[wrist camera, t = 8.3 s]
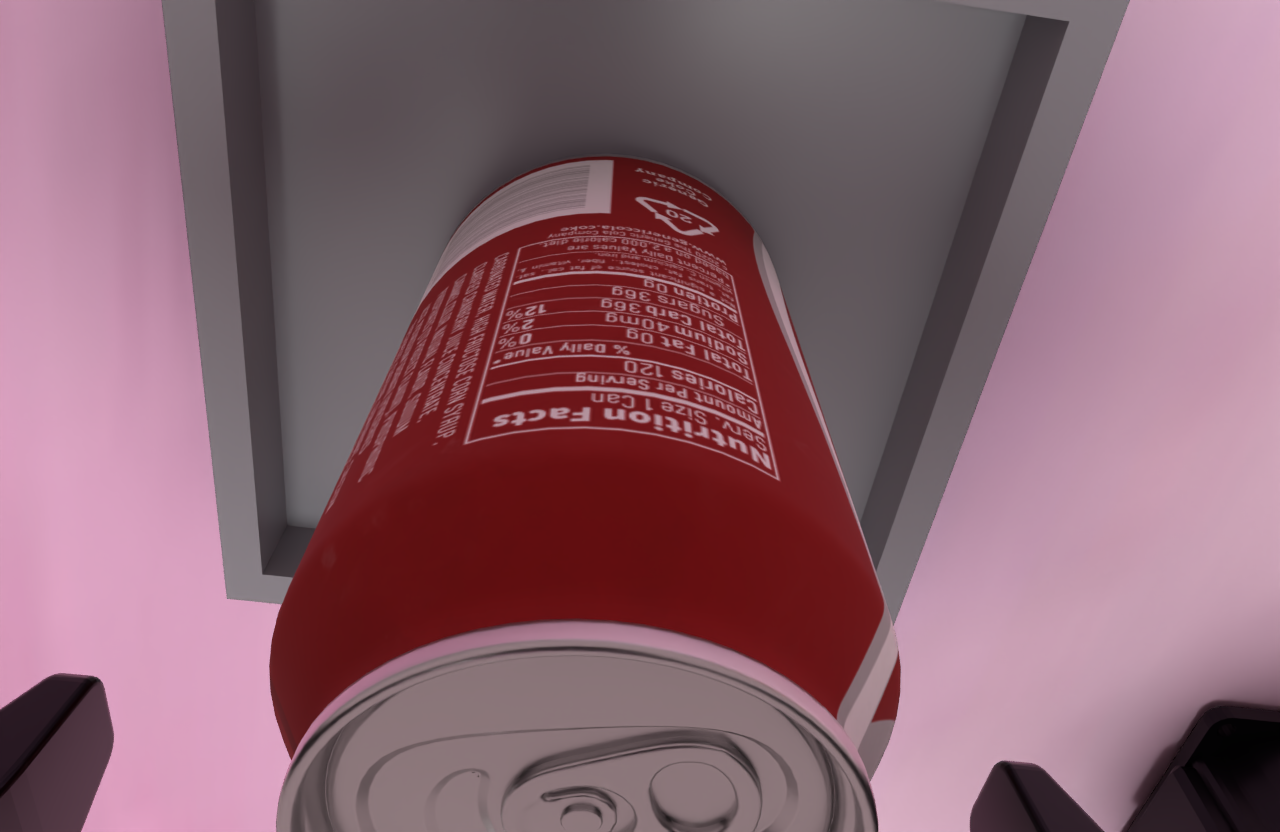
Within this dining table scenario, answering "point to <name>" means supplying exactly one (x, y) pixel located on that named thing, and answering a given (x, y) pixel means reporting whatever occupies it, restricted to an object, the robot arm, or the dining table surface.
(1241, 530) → the dining table surface
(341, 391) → the gray rectangular tray
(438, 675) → the soda can
